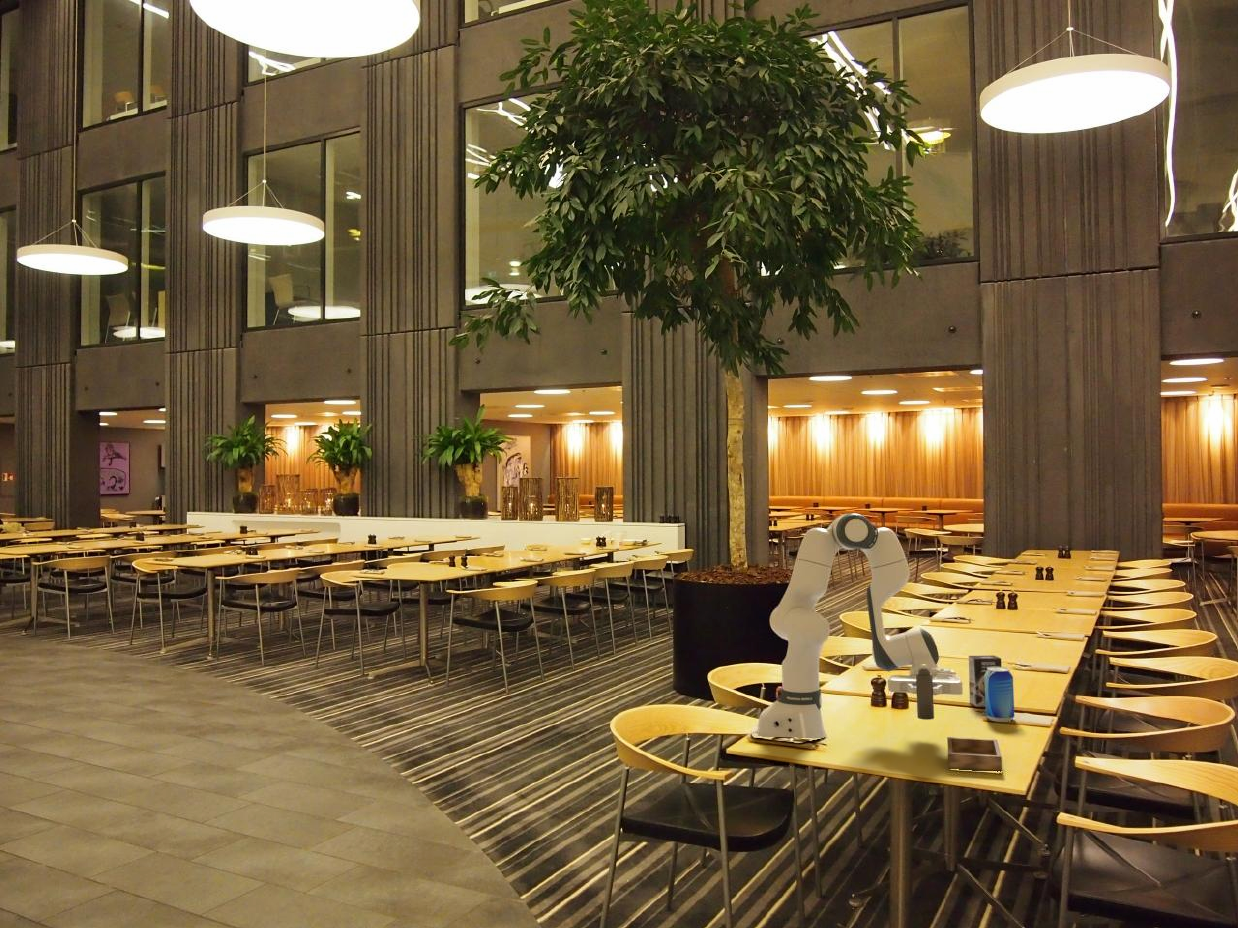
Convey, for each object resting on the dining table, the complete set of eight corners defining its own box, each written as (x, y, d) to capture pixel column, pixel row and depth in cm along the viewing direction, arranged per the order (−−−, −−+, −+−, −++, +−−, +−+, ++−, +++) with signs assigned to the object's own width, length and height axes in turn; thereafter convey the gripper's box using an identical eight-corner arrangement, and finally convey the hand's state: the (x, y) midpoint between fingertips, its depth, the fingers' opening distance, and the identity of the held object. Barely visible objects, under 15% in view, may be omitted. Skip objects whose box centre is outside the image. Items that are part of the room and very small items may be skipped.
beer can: (1007, 715, 297) (1005, 665, 297) (1019, 722, 288) (1017, 670, 289) (981, 716, 296) (979, 666, 297) (992, 723, 288) (990, 671, 288)
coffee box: (976, 707, 308) (974, 658, 309) (969, 702, 315) (967, 655, 315) (1003, 706, 308) (1001, 658, 308) (996, 701, 314) (994, 654, 315)
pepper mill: (917, 719, 256) (915, 666, 256) (917, 715, 260) (915, 662, 261) (934, 719, 255) (932, 666, 255) (933, 715, 259) (932, 663, 259)
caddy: (949, 770, 244) (948, 753, 244) (947, 753, 259) (947, 736, 259) (1002, 773, 239) (1001, 756, 239) (997, 756, 255) (997, 739, 255)
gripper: (887, 668, 273) (885, 678, 260) (961, 670, 267) (962, 681, 254) (888, 689, 273) (886, 700, 260) (961, 692, 267) (963, 704, 254)
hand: (924, 691), depth 257 cm, fingers closed on pepper mill, 4 cm apart
